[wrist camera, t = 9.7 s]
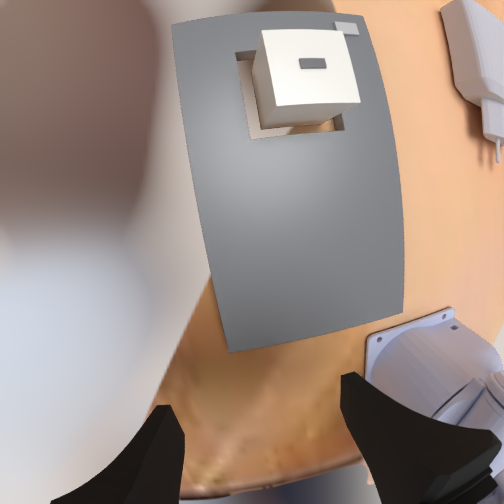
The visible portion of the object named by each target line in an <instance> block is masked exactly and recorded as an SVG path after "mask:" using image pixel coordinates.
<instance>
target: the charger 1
mask: <svg viewBox="0 0 504 504" xmlns="http://www.w3.org/2000/svg"><path fill="white" fill-rule="evenodd" d="M251 75H252V80H253V86H254V92H255V97H256V103H257V109H258V114H259V121H260V127H261V129H262V130H263V129H271V128H280V127H290V126H301V125H315V124H323V123H324V122H326V121H328V120H330V119H331V118H333V117H335V116H337V115H339V114H340V113H342V112H344V111H346V110H348V109H350V108H352V107H353V106H355V105H357V104H359V103H361V102H360V97H359V92H358V88H357V83H356V79H355V75H354V71H353V67H352V63H351V59H350V55H349V52H348V48H347V45H346V41H345V38H344V35H343V31H335V30H314V29H281V30H262V31H261V34H260V38H259V43H258V47H257V51H256V55H255V60H254V63H253V67H252V72H251Z"/></svg>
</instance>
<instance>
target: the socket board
mask: <svg viewBox="0 0 504 504" xmlns="http://www.w3.org/2000/svg"><path fill="white" fill-rule="evenodd" d="M171 28H172V37H173V47H174V55H175V63H176V72H177V80H178V87H179V95H180V103H181V110H182V116H183V123H184V129H185V136H186V143H187V148H188V155H189V161H190V167H191V173H192V178H193V184H194V190H195V195H196V201H197V206H198V212H199V217H200V222H201V227H202V232H203V237H204V242H205V247H206V252H207V257H208V262H209V267H210V271H211V276H212V281H213V285H214V290H215V294H216V299H217V303H218V308H219V312H220V316H221V320H222V325H223V329H224V333H225V337H226V341H227V346H228V350H229V353H234V352H240V351H246V350H252V349H257V348H263V347H268V346H273V345H278V344H283V343H288V342H293V341H297V340H302V339H306V338H311V337H315V336H319V335H324V334H328V333H332V332H336V331H340V330H344V329H347V328H351V327H355V326H359V325H362V324H366V323H369V322H373V321H376V320H380V319H383V318H387V317H390V316H393V315H396V314H400V313H403V298H404V225H403V208H402V195H401V184H400V175H399V167H398V159H397V152H396V145H395V139H394V133H393V127H392V121H391V116H390V111H389V106H388V102H387V97H386V93H385V88H384V84H383V80H382V76H381V72H380V69H379V65H378V61H377V58H376V55H375V51H374V48H373V45H372V41H371V38H370V35H369V32H368V29H367V26H366V24H365V21H364V18H363V16H359V15H351V14H342V13H330V12H310V11H270V12H252V13H240V14H231V15H224V16H215V17H209V18H202V19H197V20H191V21H186V22H181V23H177V24H172V25H171ZM281 29H314V30H335V31H343V35H344V38H345V41H346V45H347V48H348V52H349V55H350V59H351V63H352V67H353V71H354V75H355V79H356V83H357V88H358V92H359V97H360V102H361V103H359V104H357V105H355V106H353V107H352V108H350V109H348V110H346V111H344V112H342V113H340V114H339V115H337V116H335V117H333V119H334V124H335V130H336V131H328V132H315V133H304V134H294V135H284V136H276V137H268V138H260V139H254V140H251V139H250V134H249V128H248V122H247V116H246V111H245V105H244V99H243V94H242V88H241V83H240V77H239V71H238V66H237V61H241V60H250V59H255V55H256V51H257V47H258V43H259V38H260V34H261V31H262V30H281Z"/></svg>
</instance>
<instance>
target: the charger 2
mask: <svg viewBox="0 0 504 504" xmlns="http://www.w3.org/2000/svg"><path fill="white" fill-rule="evenodd" d="M440 11H441V15H442V18H443V22H444V26H445V31H446V35H447V40H448V44H449V50H450V55H451V61H452V67H453V74H454V82H455V87H456V88H457V89H458V91H459V92H460V93H461V95H462V96H463V97H464V99H466V100H468V101H470V102H471V103H473V104H475V105H477V106H479V107H481V111H482V124H483V135H484V136H485V138H486V139H488V140H490V141H492V142H494V143H495V144H496V162H497V163H500V145H501V146H504V23H503V22H502V21H501V20H499V19H498V18H497V17H496V16H494V15H493V14H492V13H491V12H489V11H488V10H487V9H485V8H484V7H483V6H481V5H480V4H478V3H477V2H475V1H474V0H453V1H452V2H450V3H448V4H447V5H445V6H444V7H442V8H441V9H440Z"/></svg>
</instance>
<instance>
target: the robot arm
mask: <svg viewBox="0 0 504 504" xmlns="http://www.w3.org/2000/svg"><path fill="white" fill-rule="evenodd" d="M454 315H455V309H454V308H452V307H450V308H447V309H445V310H442V311H439V312H437V313H434V314H431V315H429V316H426V317H423V318H420V319H418V320H415V321H412V322H409V323H406V324H403V325H400V326H397V327H394V328H391V329H388V330H384V331H381V332H378V333H375V334H372V335H370V336H369V337H368V339H367V350H366V368H365V379H364V378H362V377H361V376H360V375H359V374H357V373H356V372H351V373H348V374H344V375H341V398H340V408H341V411H342V414H343V417H344V420H345V422H346V425H347V427H348V429H349V431H350V433H351V435H352V437H353V439H354V440H355V442H356V444H357V446H358V448H359V450H360V452H361V453H362V455H363V457H364V459H365V461H366V463H367V465H368V467H369V469H370V472H371V474H372V477H373V480H374V482H375V485H376V488H377V490H378V494H379V497H380V499H381V502H382V504H504V370H503V365H502V361H501V359H500V356H499V354H498V353H497V351H496V349H495V348H494V347H493V346H492V345H491V344H490V343H489V342H487V341H486V340H485V339H483V338H482V337H480V336H479V335H478V334H476V333H475V332H474V331H472V330H471V329H469V328H468V327H467V326H465V325H464V324H462V323H461V322H459V321H458V320H457V319H455V318H454ZM442 316H443V317H442ZM379 337H380V338H379ZM378 338H379V339H378ZM377 339H378V340H377ZM184 455H185V434H184V432H183V430H182V428H181V426H180V424H179V422H178V420H177V418H176V416H175V414H174V412H173V410H172V407H171V405H157V406H156V407H155V409H154V410H153V411H152V413H151V414H150V416H149V417H148V418H147V420H146V421H145V423H144V424H143V425H142V427H141V428H140V430H139V431H138V432H137V434H136V435H135V436H134V438H133V439H132V440H131V442H130V443H129V444H128V445H127V446H126V447H125V448H124V450H123V451H122V452H121V453H120V454H119V455H118V456H117V457H116V458H115V459H114V461H112V462H111V463H110V464H109V465H108V466H107V467H106V468H105V469H104V470H102V471H101V472H100V473H99V474H97V475H96V476H95V477H93V478H92V479H91V480H89V481H88V482H87V483H85V484H83V485H82V486H80V487H79V488H77V489H75V490H74V491H71V492H70V493H68V494H65V495H63V496H61V497H59V498H57V499H54V500H52V501H51V503H50V504H179V492H180V485H181V477H182V470H183V463H184Z"/></svg>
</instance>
